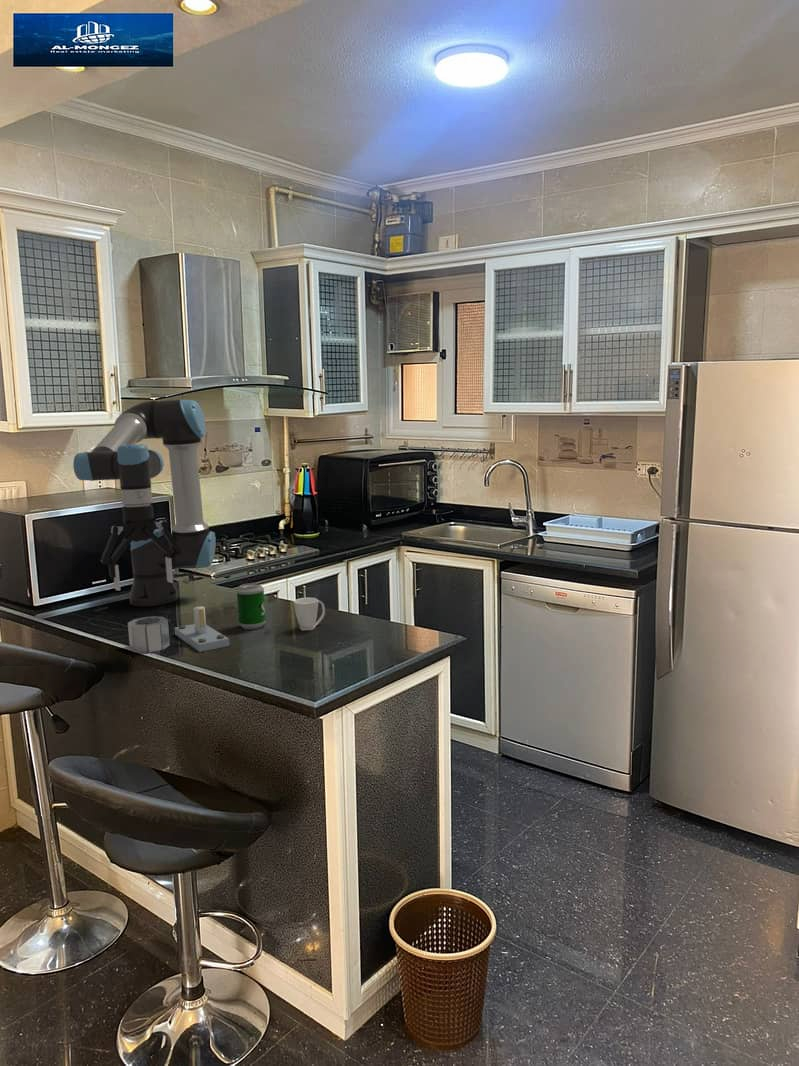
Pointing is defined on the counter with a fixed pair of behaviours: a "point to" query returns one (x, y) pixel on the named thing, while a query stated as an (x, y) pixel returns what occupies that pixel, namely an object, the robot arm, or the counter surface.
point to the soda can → (251, 606)
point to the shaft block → (201, 633)
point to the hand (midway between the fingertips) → (144, 585)
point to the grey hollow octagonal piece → (148, 634)
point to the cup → (308, 612)
